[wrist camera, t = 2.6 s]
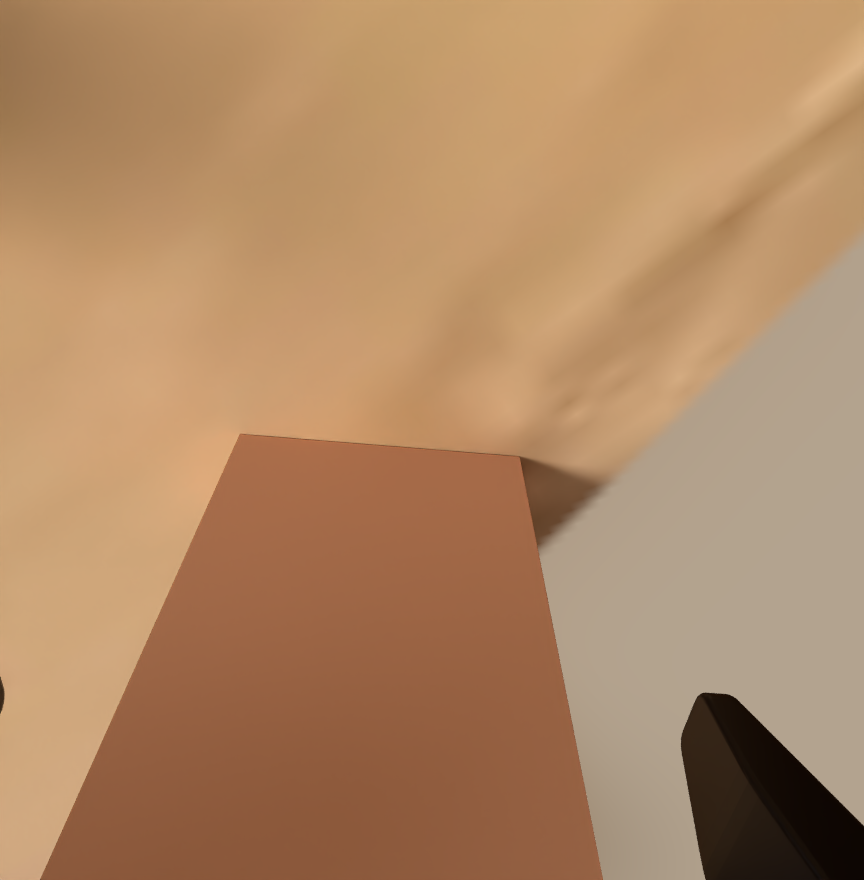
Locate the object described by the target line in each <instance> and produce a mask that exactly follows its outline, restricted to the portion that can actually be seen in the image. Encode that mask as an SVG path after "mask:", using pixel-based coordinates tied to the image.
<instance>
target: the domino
mask: <svg viewBox="0 0 864 880" xmlns="http://www.w3.org/2000/svg"><path fill="white" fill-rule="evenodd" d="M40 880H603V877H602V872H601V867H600V862H599V857H598V852H597V847H596V842H595V837H594V832H593V827H592V821H591V816H590V811H589V806H588V801H587V796H586V791H585V786H584V782H583V776H582V771H581V766H580V761H579V756H578V751H577V746H576V741H575V736H574V730H573V725H572V720H571V715H570V710H569V705H568V700H567V695H566V690H565V685H564V680H563V674H562V670H561V664H560V659H559V654H558V649H557V644H556V639H555V634H554V629H553V624H552V619H551V614H550V609H549V604H548V598H547V593H546V589H545V584H544V578H543V574H542V568H541V563H540V558H539V553H538V548H537V543H536V538H535V533H534V528H533V522H532V517H531V512H530V507H529V502H528V497H527V492H526V487H525V482H524V477H523V472H522V467H521V462H520V457H517V456H504V455H492V454H479V453H467V452H454V451H442V450H430V449H417V448H405V447H392V446H380V445H368V444H355V443H343V442H330V441H318V440H305V439H293V438H281V437H268V436H256V435H243V434H240V435H239V437H238V439H237V442H236V444H235V446H234V448H233V450H232V453H231V455H230V457H229V459H228V462H227V464H226V466H225V468H224V471H223V473H222V475H221V477H220V480H219V482H218V484H217V486H216V488H215V491H214V493H213V495H212V497H211V500H210V502H209V504H208V506H207V509H206V511H205V513H204V515H203V517H202V520H201V522H200V524H199V526H198V529H197V531H196V533H195V535H194V538H193V540H192V542H191V544H190V546H189V549H188V551H187V553H186V555H185V558H184V560H183V562H182V564H181V567H180V569H179V571H178V573H177V576H176V578H175V580H174V582H173V584H172V587H171V589H170V591H169V593H168V596H167V598H166V600H165V602H164V605H163V607H162V609H161V611H160V613H159V616H158V618H157V620H156V622H155V625H154V627H153V629H152V631H151V634H150V636H149V638H148V640H147V642H146V645H145V647H144V649H143V651H142V654H141V656H140V658H139V660H138V663H137V665H136V667H135V669H134V672H133V674H132V676H131V678H130V680H129V683H128V685H127V687H126V689H125V692H124V694H123V696H122V698H121V701H120V703H119V705H118V707H117V709H116V712H115V714H114V716H113V718H112V721H111V723H110V725H109V727H108V730H107V732H106V734H105V736H104V738H103V741H102V743H101V745H100V747H99V750H98V752H97V754H96V756H95V759H94V761H93V763H92V765H91V768H90V770H89V772H88V774H87V776H86V779H85V781H84V783H83V785H82V788H81V790H80V792H79V794H78V797H77V799H76V801H75V803H74V805H73V808H72V810H71V812H70V814H69V817H68V819H67V821H66V823H65V826H64V828H63V830H62V832H61V834H60V837H59V839H58V841H57V843H56V846H55V848H54V850H53V852H52V855H51V857H50V859H49V861H48V864H47V866H46V868H45V870H44V872H43V875H42V877H41V879H40Z"/></svg>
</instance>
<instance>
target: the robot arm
mask: <svg viewBox="0 0 864 880" xmlns="http://www.w3.org/2000/svg"><path fill="white" fill-rule="evenodd" d="M3 704H4V687H3V684H2V680H1V677H0V713H1V711H2V708H3ZM681 751H682V757H683V762H684V768H685V774H686V779H687V785H688V790H689V796H690V802H691V807H692V813H693V818H694V824H695V829H696V835H697V841H698V846H699V852H700V856H701V861H702V866H703V871H704V875H705V879H706V880H864V826H863V825H862V824H861V823H860V822H859V821H858V820H857V819H856V818H855V817H854V816H853V815H852V814H851V813H850V812H849V811H848V810H847V809H846V808H845V807H844V806H843V805H842V804H841V803H840V802H839V801H838V800H837V799H836V798H835V797H834V796H833V795H832V794H831V793H830V792H829V791H828V790H827V789H826V788H825V787H824V786H823V785H822V784H821V783H820V782H819V781H818V780H817V779H816V778H815V777H814V776H813V775H812V774H811V773H810V772H809V771H808V770H807V769H806V768H805V767H804V766H803V765H802V764H801V763H800V762H799V761H798V760H797V759H796V758H795V757H794V756H793V755H792V754H791V753H790V752H789V751H788V750H787V749H786V748H785V747H784V746H783V745H782V744H781V743H780V742H779V741H778V740H777V739H776V738H775V737H774V736H773V735H772V734H771V733H770V732H769V731H768V730H767V729H766V728H765V727H764V726H763V725H762V724H761V723H760V722H759V721H758V720H757V719H756V718H755V717H754V716H753V715H752V714H751V713H750V712H749V711H748V710H747V709H746V708H745V707H744V706H743V705H742V704H741V703H740V702H739V701H738V700H737V699H736V698H734V697H733V696H731V695H728V694H717V693H716V694H715V693H702V694H700V695H699V696H698V697H697V699H696V701H695V703H694V705H693V707H692V710H691V712H690V715H689V717H688V720H687V722H686V725H685V727H684V730H683V733H682V737H681Z"/></svg>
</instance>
